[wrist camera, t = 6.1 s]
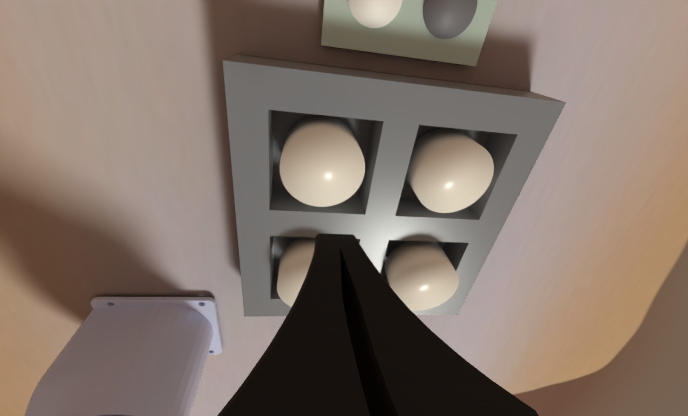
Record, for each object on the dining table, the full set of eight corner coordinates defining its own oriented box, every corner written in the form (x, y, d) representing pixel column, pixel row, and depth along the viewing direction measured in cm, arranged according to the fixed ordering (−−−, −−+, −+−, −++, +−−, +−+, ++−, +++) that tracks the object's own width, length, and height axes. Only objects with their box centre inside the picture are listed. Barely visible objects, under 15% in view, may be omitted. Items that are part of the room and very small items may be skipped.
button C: (379, 284, 24) (386, 310, 22) (391, 238, 21) (401, 262, 19) (434, 284, 24) (446, 310, 22) (452, 240, 22) (468, 264, 20)
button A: (396, 191, 21) (407, 211, 18) (413, 124, 18) (428, 138, 16) (459, 195, 21) (476, 214, 19) (483, 131, 19) (506, 145, 17)
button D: (279, 283, 22) (276, 311, 20) (280, 234, 20) (277, 260, 18) (340, 283, 23) (344, 310, 21) (348, 236, 21) (353, 261, 19)
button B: (282, 184, 19) (279, 204, 17) (283, 111, 17) (279, 124, 15) (352, 188, 20) (358, 208, 18) (364, 119, 18) (371, 132, 15)
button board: (250, 286, 25) (244, 316, 23) (236, 54, 16) (222, 60, 13) (444, 288, 28) (457, 314, 25) (531, 91, 18) (566, 102, 16)
